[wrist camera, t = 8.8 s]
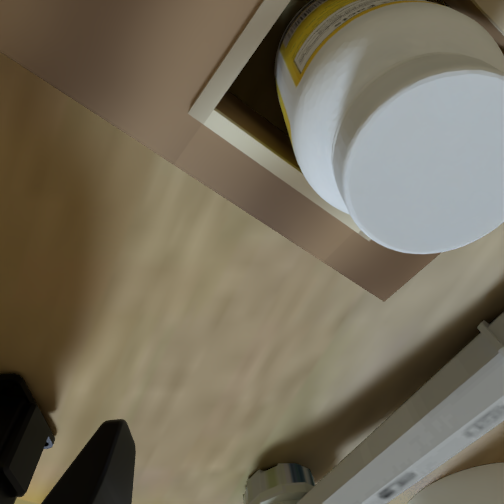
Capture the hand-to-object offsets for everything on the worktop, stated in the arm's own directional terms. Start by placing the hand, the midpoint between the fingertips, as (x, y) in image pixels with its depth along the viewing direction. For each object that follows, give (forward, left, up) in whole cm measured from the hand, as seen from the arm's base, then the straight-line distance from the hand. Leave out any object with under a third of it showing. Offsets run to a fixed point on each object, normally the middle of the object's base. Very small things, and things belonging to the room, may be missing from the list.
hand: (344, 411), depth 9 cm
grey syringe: (+5, -17, -13) cm, 22 cm away
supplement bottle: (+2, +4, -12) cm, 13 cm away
